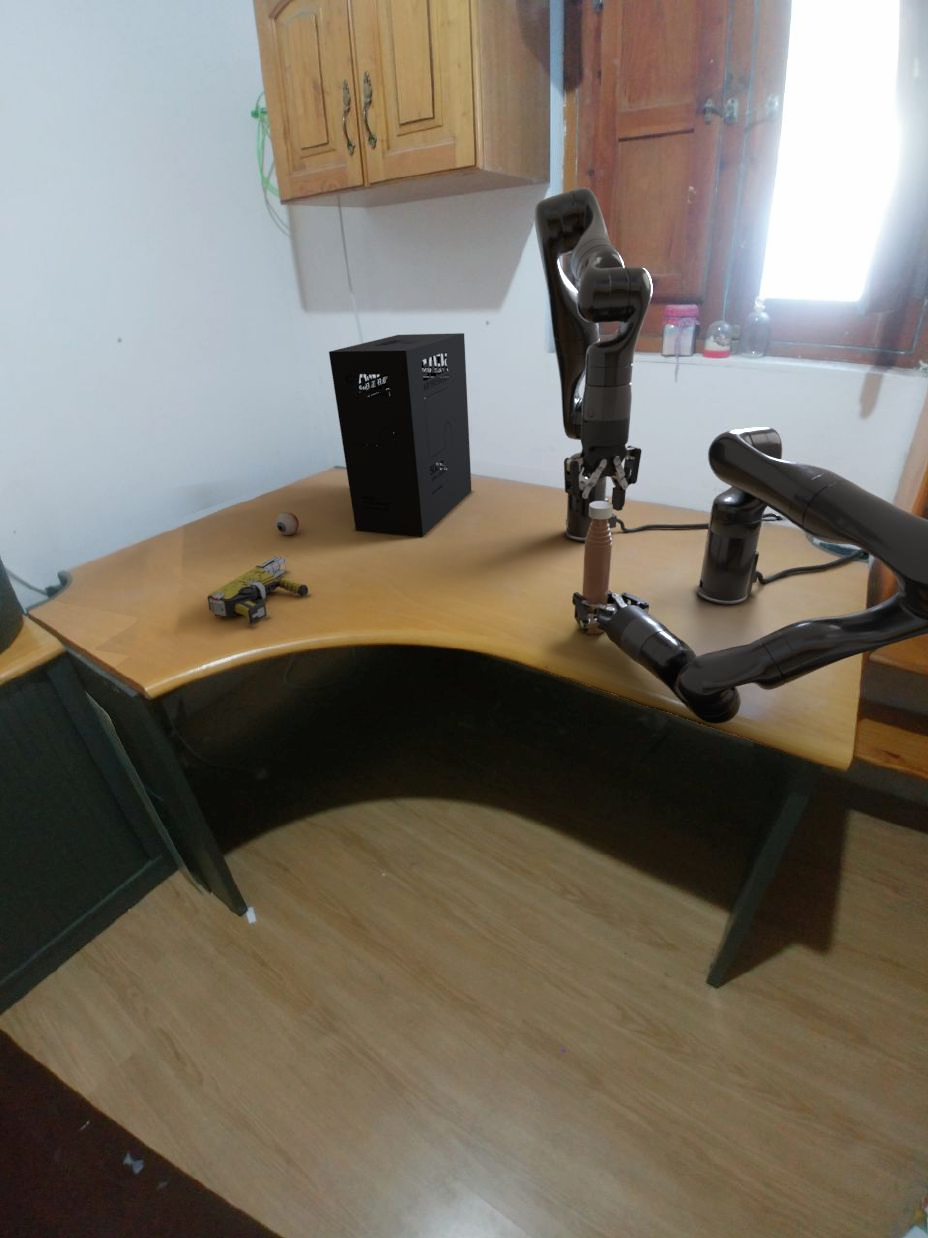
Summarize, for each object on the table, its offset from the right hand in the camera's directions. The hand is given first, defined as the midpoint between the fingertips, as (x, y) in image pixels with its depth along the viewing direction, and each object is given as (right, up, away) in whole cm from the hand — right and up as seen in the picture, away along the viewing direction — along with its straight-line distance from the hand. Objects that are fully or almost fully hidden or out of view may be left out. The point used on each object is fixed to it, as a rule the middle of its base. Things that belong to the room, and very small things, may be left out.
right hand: (587, 593), depth 114 cm
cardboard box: (-37, +27, +63) cm, 78 cm away
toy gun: (-66, 0, +19) cm, 68 cm away
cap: (0, +14, -11) cm, 18 cm away
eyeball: (-71, +18, +51) cm, 90 cm away
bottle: (+1, -6, +1) cm, 7 cm away
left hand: (0, +13, -11) cm, 17 cm away
